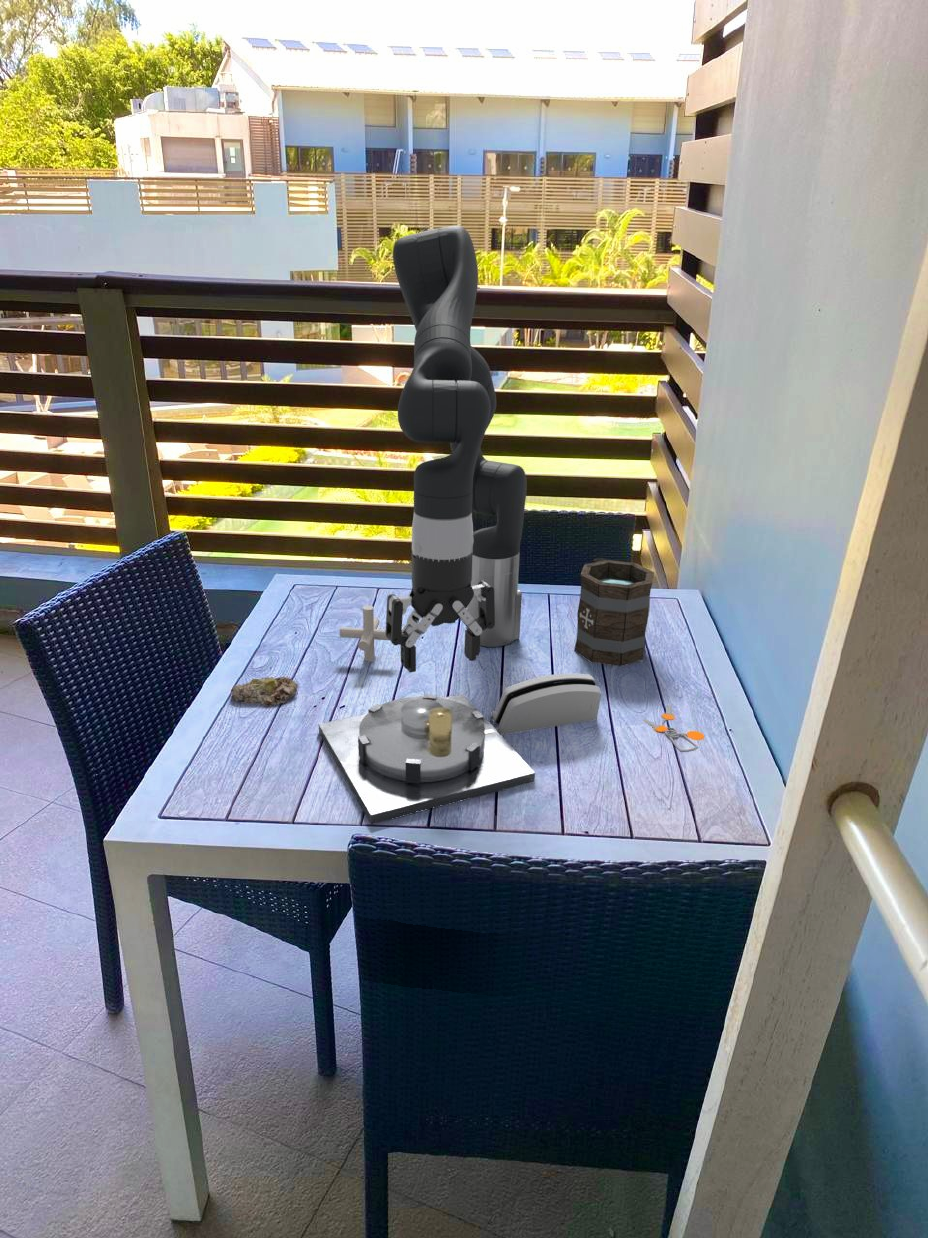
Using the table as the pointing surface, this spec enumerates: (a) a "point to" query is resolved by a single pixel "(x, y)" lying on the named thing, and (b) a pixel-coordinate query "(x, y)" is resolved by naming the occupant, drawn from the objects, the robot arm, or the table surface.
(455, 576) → the robot arm
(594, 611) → the mug
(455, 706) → the silver disc
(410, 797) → the base plate
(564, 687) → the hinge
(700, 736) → the key chain
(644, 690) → the table surface
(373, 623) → the pipe connector
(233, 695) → the mineral rock
